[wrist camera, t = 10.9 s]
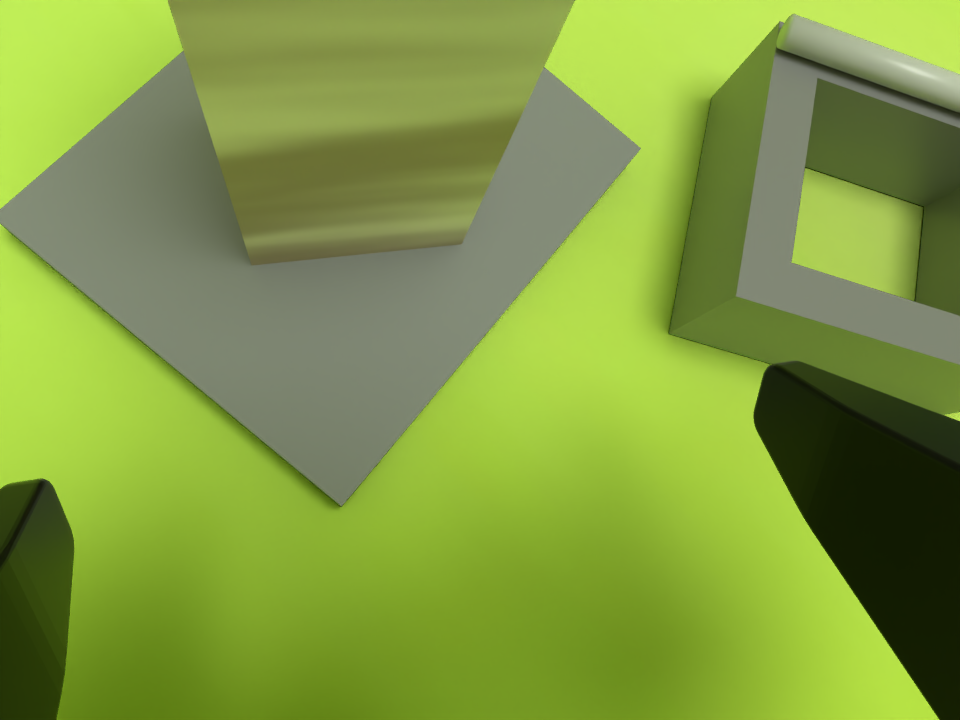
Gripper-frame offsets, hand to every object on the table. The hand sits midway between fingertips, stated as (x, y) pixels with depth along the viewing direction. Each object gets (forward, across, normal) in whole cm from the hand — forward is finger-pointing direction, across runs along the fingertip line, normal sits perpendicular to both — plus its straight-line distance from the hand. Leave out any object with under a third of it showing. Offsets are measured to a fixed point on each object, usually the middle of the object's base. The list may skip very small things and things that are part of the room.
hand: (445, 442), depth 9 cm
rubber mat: (+12, 0, +1) cm, 12 cm away
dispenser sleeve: (+9, -13, +3) cm, 16 cm away
